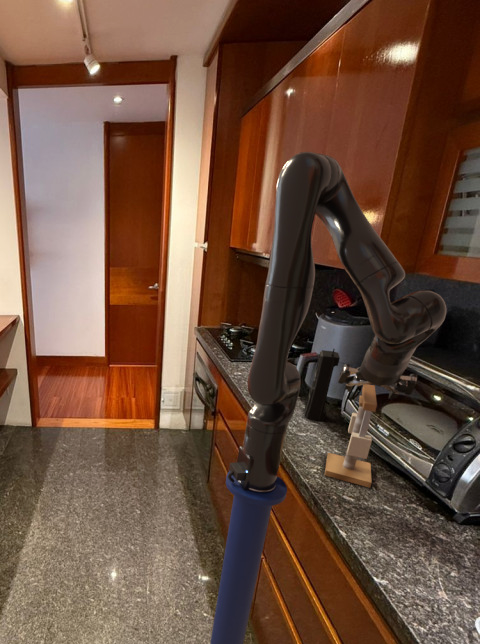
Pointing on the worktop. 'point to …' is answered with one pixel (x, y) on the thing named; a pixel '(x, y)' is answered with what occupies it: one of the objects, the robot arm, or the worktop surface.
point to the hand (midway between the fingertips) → (369, 392)
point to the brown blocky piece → (360, 440)
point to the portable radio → (321, 385)
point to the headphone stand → (350, 461)
